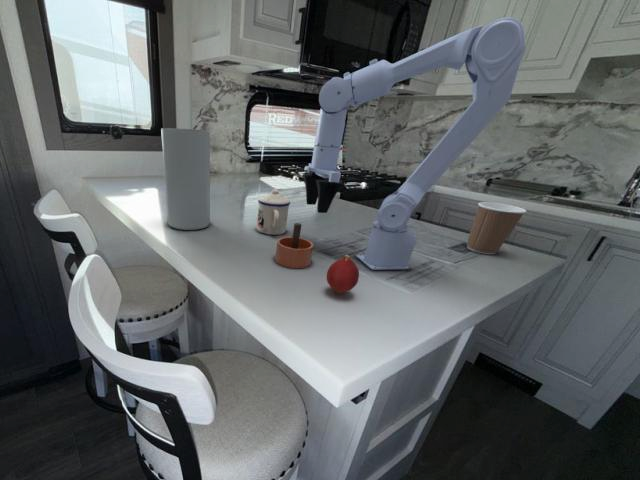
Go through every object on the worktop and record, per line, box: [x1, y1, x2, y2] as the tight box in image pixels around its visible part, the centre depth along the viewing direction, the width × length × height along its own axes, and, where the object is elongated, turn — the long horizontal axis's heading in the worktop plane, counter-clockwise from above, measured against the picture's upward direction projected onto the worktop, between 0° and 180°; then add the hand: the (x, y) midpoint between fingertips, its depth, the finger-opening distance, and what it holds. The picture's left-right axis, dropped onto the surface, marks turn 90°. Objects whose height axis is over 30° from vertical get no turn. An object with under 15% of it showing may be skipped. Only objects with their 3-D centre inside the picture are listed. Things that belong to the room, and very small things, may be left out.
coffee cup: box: [466, 201, 527, 255], centre depth 83 cm, size 10×10×12 cm
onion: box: [326, 254, 360, 295], centre depth 58 cm, size 6×6×8 cm
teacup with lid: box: [256, 188, 291, 236], centre depth 87 cm, size 12×9×12 cm
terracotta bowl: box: [274, 236, 314, 269], centre depth 71 cm, size 8×8×4 cm
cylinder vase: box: [160, 127, 211, 231], centre depth 86 cm, size 12×12×25 cm
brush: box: [289, 222, 302, 249], centre depth 70 cm, size 4×2×8 cm, turn 99°
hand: (316, 208), depth 75 cm, fingers open, 7 cm apart
